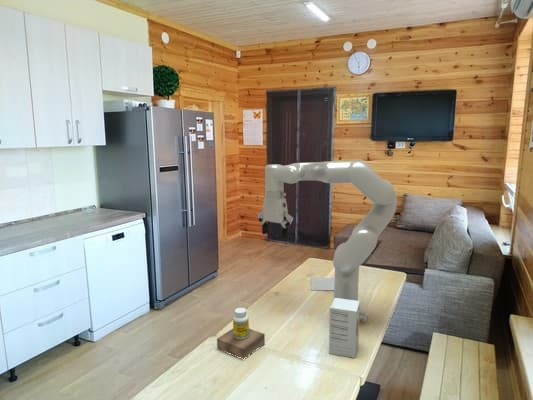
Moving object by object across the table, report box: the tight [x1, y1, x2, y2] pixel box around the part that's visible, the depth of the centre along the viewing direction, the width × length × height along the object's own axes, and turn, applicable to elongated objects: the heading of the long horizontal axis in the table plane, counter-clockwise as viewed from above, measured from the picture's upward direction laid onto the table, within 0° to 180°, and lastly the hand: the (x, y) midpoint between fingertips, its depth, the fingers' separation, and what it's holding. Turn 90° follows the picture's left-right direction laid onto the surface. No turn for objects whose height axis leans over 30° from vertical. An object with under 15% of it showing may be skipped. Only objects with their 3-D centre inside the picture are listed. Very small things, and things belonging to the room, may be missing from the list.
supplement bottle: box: [232, 307, 250, 339], centre depth 136 cm, size 6×6×10 cm
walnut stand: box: [216, 328, 266, 359], centre depth 137 cm, size 12×12×4 cm
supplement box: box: [328, 297, 361, 359], centre depth 133 cm, size 10×9×17 cm
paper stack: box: [310, 276, 335, 291], centre depth 189 cm, size 23×25×1 cm
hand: (274, 235), depth 160 cm, fingers open, 9 cm apart
